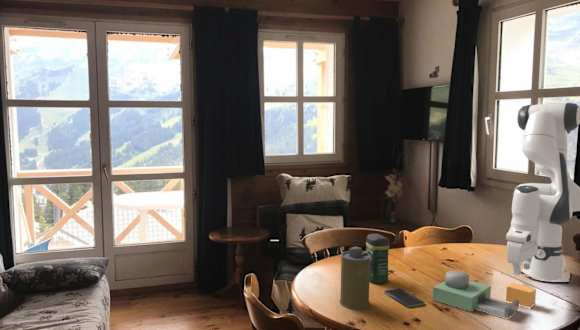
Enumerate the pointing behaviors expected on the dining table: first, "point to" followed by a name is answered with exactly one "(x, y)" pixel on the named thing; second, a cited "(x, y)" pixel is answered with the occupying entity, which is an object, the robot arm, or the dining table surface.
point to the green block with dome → (460, 291)
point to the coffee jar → (378, 257)
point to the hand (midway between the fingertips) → (522, 271)
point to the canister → (355, 278)
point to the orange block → (521, 294)
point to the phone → (404, 298)
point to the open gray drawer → (498, 307)
